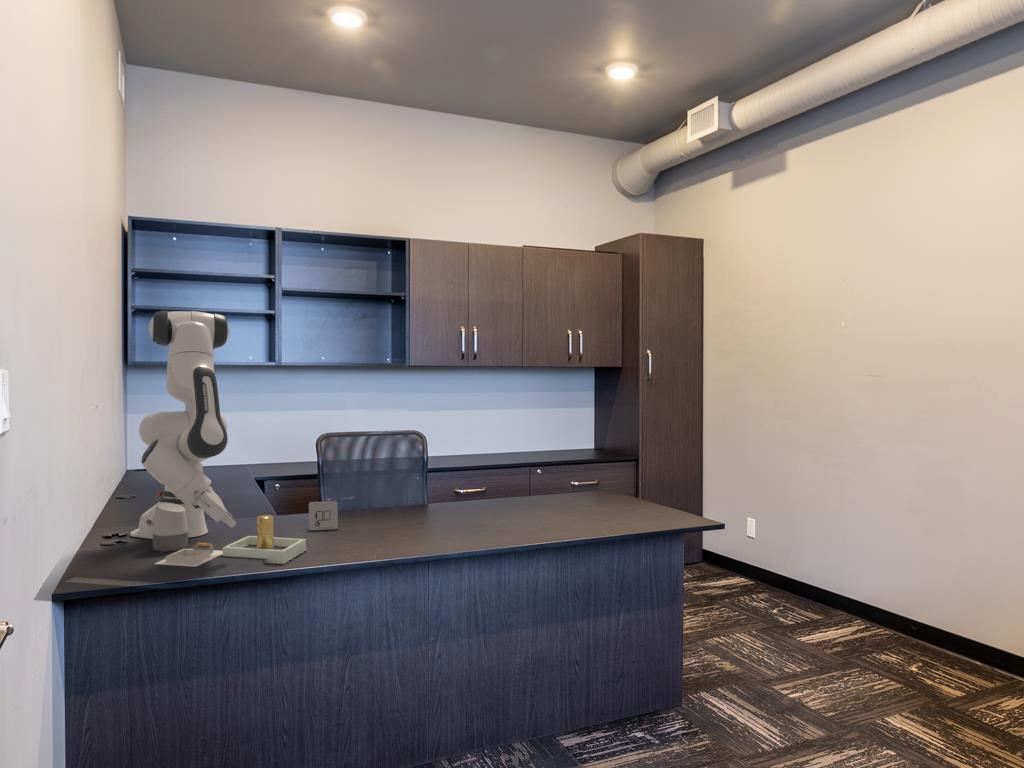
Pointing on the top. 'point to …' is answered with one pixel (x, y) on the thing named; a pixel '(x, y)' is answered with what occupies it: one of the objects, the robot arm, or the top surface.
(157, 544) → the smart speaker
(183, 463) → the robot arm
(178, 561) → the base
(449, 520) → the top surface
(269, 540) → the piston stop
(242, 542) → the tray
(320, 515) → the electrical switch
